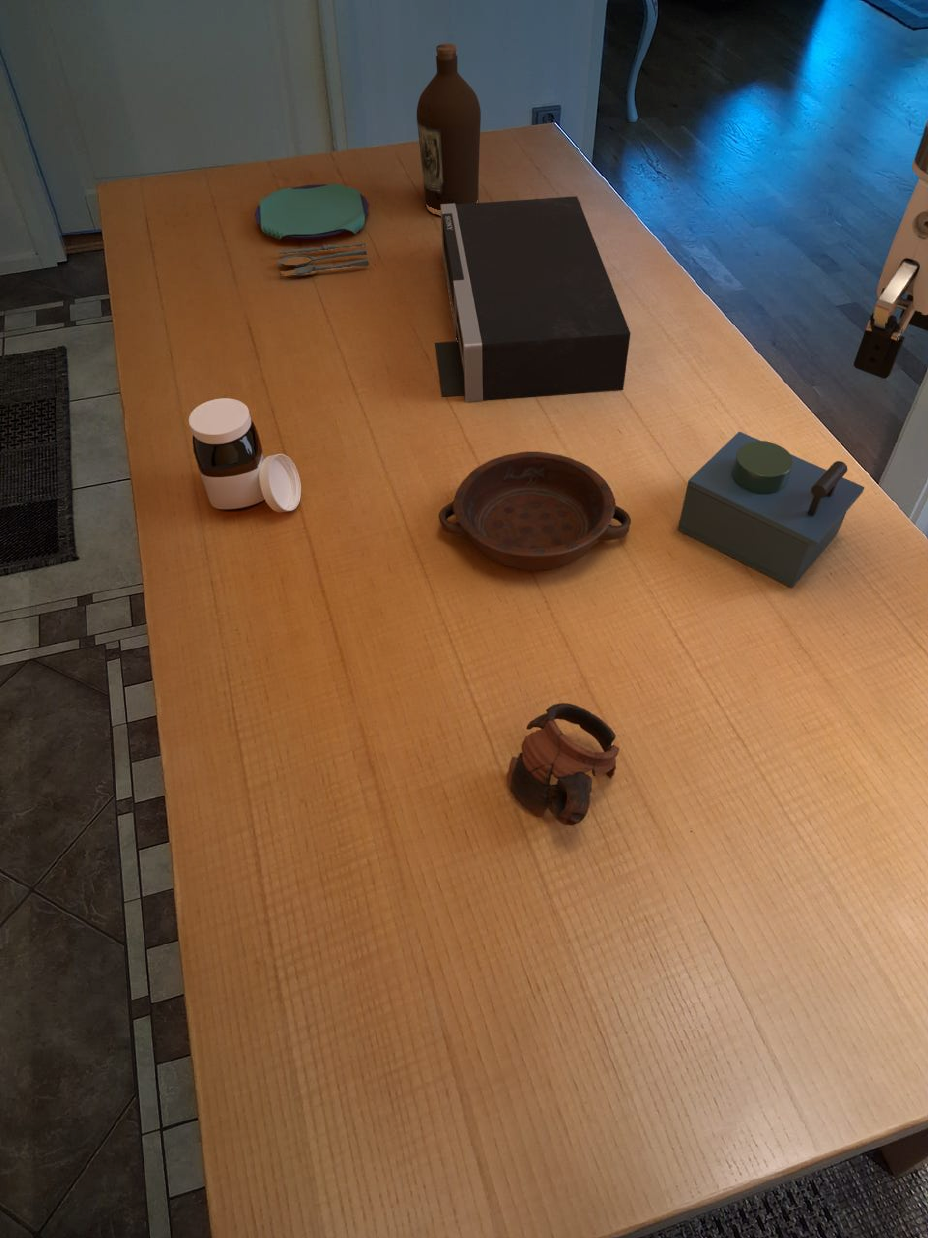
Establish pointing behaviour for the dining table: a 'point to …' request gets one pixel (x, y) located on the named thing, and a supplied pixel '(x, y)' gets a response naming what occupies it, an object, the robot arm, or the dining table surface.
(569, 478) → the dish
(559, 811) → the brown hollow curved piece
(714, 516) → the lunchbox
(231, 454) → the spread jar
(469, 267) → the video player
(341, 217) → the cutlery set
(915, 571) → the dining table surface
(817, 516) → the lunchbox lid
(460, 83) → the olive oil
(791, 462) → the dark green puck
